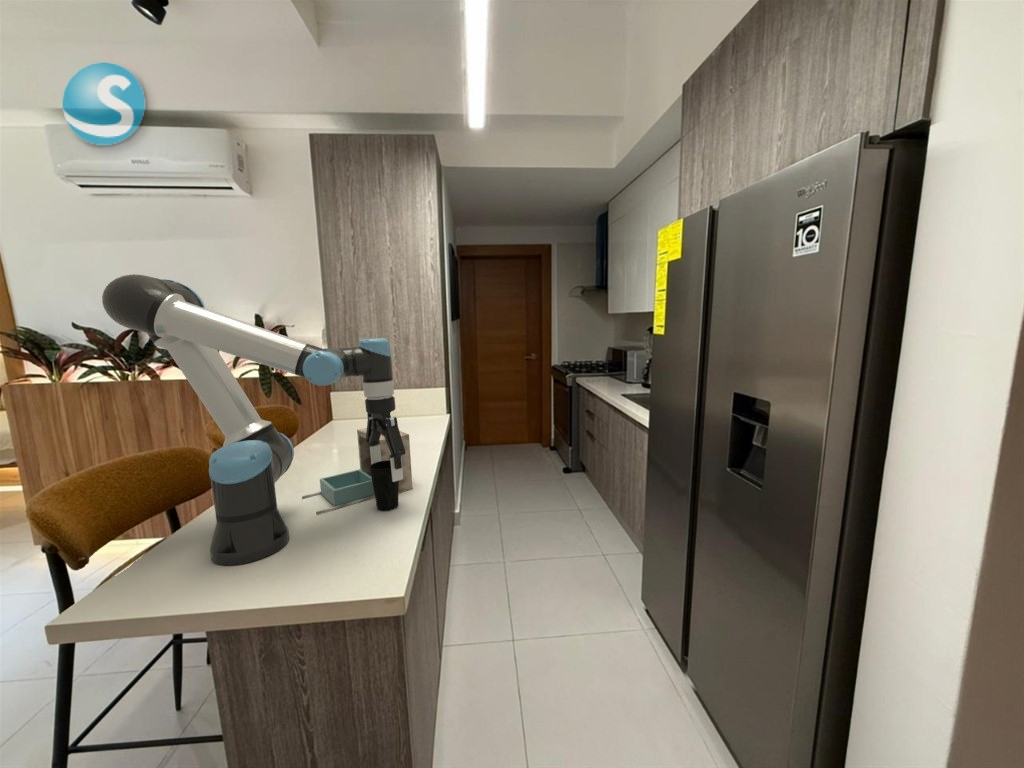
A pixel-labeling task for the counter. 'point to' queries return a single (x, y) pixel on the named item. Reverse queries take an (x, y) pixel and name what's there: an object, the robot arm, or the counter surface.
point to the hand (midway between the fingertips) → (387, 474)
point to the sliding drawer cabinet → (385, 454)
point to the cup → (384, 486)
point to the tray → (347, 487)
